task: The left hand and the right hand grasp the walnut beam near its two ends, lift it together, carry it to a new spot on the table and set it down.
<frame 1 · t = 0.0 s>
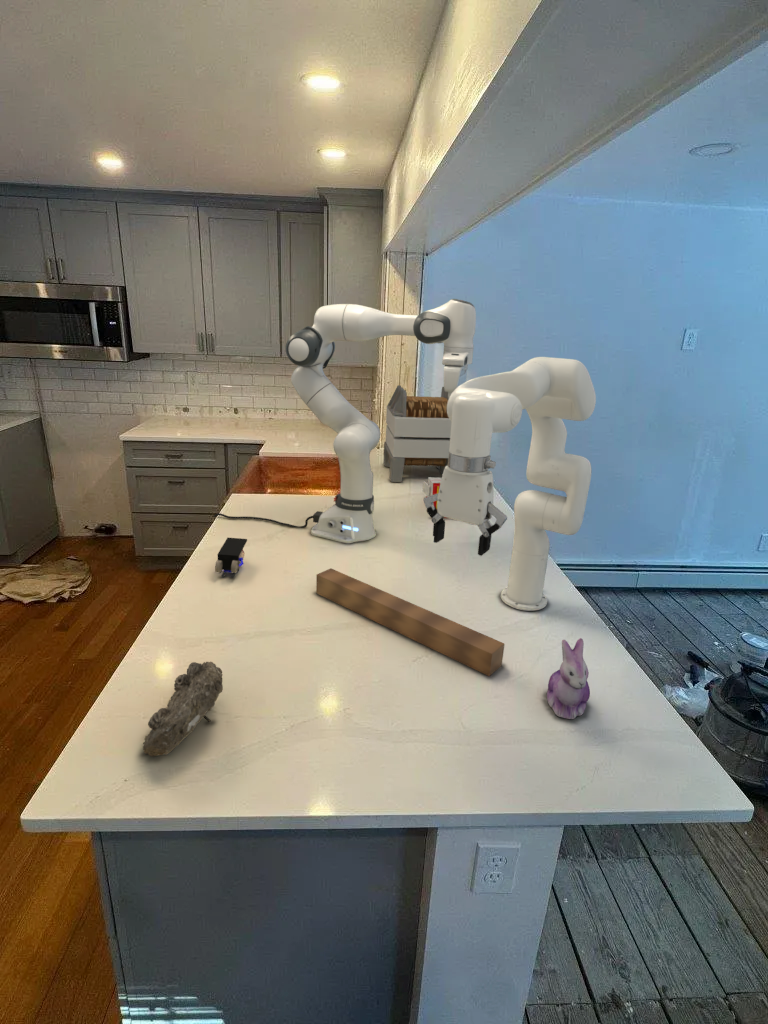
left hand: (454, 403, 174), 48 cm above the counter, tool pointing down, fingers open, 8 cm apart
right hand: (460, 546, 112), 31 cm above the counter, tool pointing down, fingers open, 9 cm apart
toy: (438, 507, 229), on the counter
figurine character: (232, 569, 168), on the counter
fossil: (190, 720, 107), on the counter
transformer: (419, 473, 275), on the counter
beam: (399, 625, 142), on the counter
figurine: (567, 706, 116), on the counter
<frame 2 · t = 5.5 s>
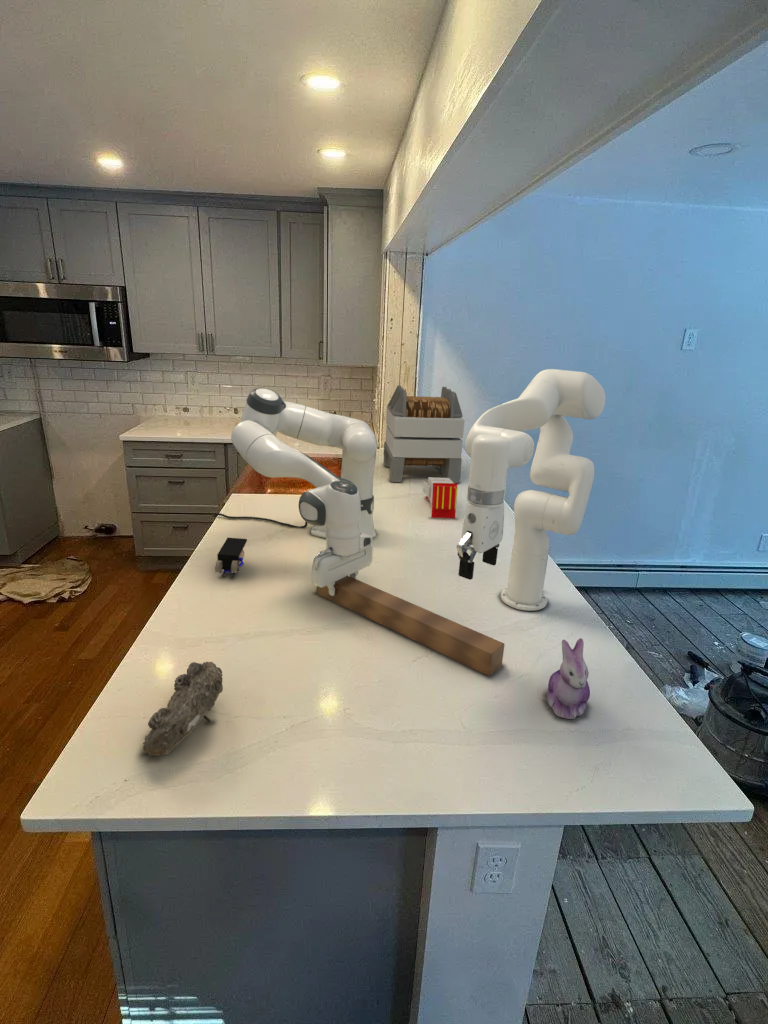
left hand: (342, 590, 153), 3 cm above the counter, tool pointing down, fingers closed on beam, 5 cm apart
right hand: (477, 570, 123), 22 cm above the counter, tool pointing down, fingers open, 9 cm apart
beam: (399, 625, 142), on the counter, touching left hand
everything else where it was.
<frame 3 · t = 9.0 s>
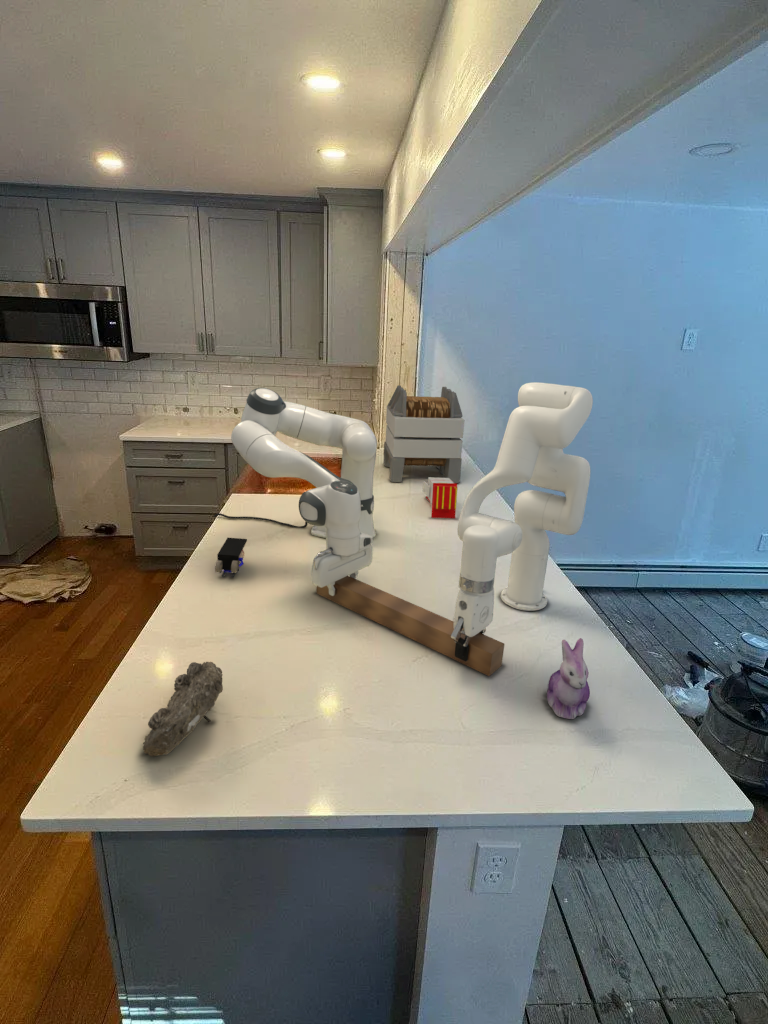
left hand: (342, 590, 153), 3 cm above the counter, tool pointing down, fingers closed on beam, 5 cm apart
right hand: (468, 652, 130), 2 cm above the counter, tool pointing down, fingers closed on beam, 5 cm apart
beam: (399, 625, 142), on the counter, touching left hand, right hand
everything else where it was.
when the right hand's fingers open (3 cm above the counter, at t = 16.0 s): beam drops 2 cm, on the counter.
when the left hand's fingers open (4 cm above the counter, at t = 16.1 s): beam drops 1 cm, on the counter.
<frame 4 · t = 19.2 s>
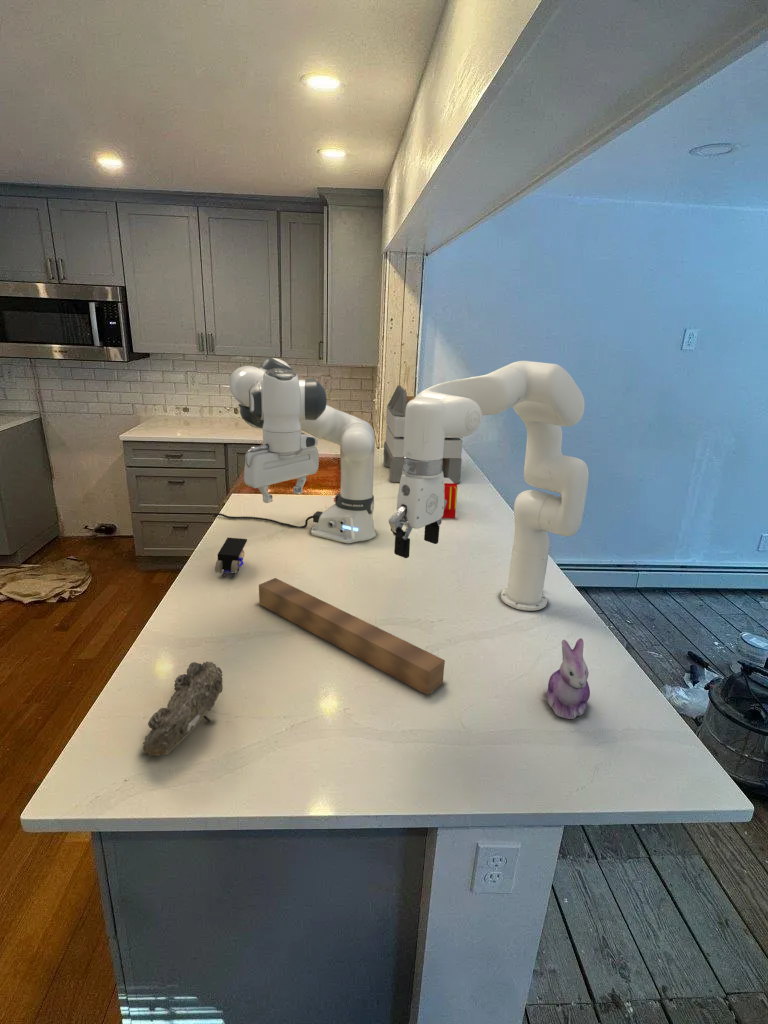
left hand: (283, 497, 136), 31 cm above the counter, tool pointing down, fingers open, 8 cm apart
right hand: (416, 548, 113), 30 cm above the counter, tool pointing down, fingers open, 9 cm apart
beam: (341, 639, 135), on the counter
everything else where it was.
at the end: beam inside the target area (0.1 cm from its centre), on the counter; beam tilted 0°; beam never tilted more than 2° during the clip; both hands held the beam at the same time; the left hand is holding nothing; the right hand is holding nothing; beam at rest at the end (0.0 cm/s) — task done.
